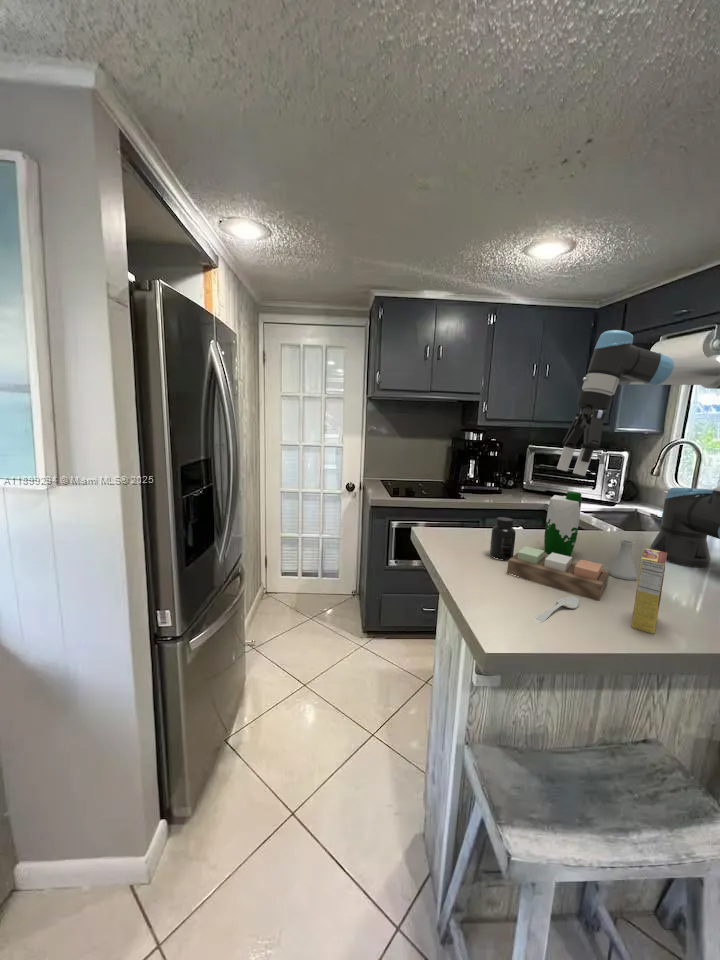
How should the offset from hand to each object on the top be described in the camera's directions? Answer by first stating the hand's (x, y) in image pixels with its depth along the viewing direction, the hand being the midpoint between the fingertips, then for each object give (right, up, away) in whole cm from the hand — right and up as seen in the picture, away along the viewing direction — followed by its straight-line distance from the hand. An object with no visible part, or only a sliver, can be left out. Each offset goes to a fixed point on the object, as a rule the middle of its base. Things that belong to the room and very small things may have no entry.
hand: (569, 472), depth 105 cm
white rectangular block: (-3, -27, 0) cm, 27 cm away
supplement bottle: (-13, -26, +15) cm, 33 cm away
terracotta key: (+2, -28, -5) cm, 28 cm away
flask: (+17, -29, +5) cm, 34 cm away
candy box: (+5, -33, -21) cm, 39 cm away
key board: (-4, -29, 0) cm, 29 cm away
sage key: (-9, -26, +4) cm, 28 cm away
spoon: (-14, -32, -18) cm, 39 cm away
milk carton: (+8, -26, +22) cm, 34 cm away
